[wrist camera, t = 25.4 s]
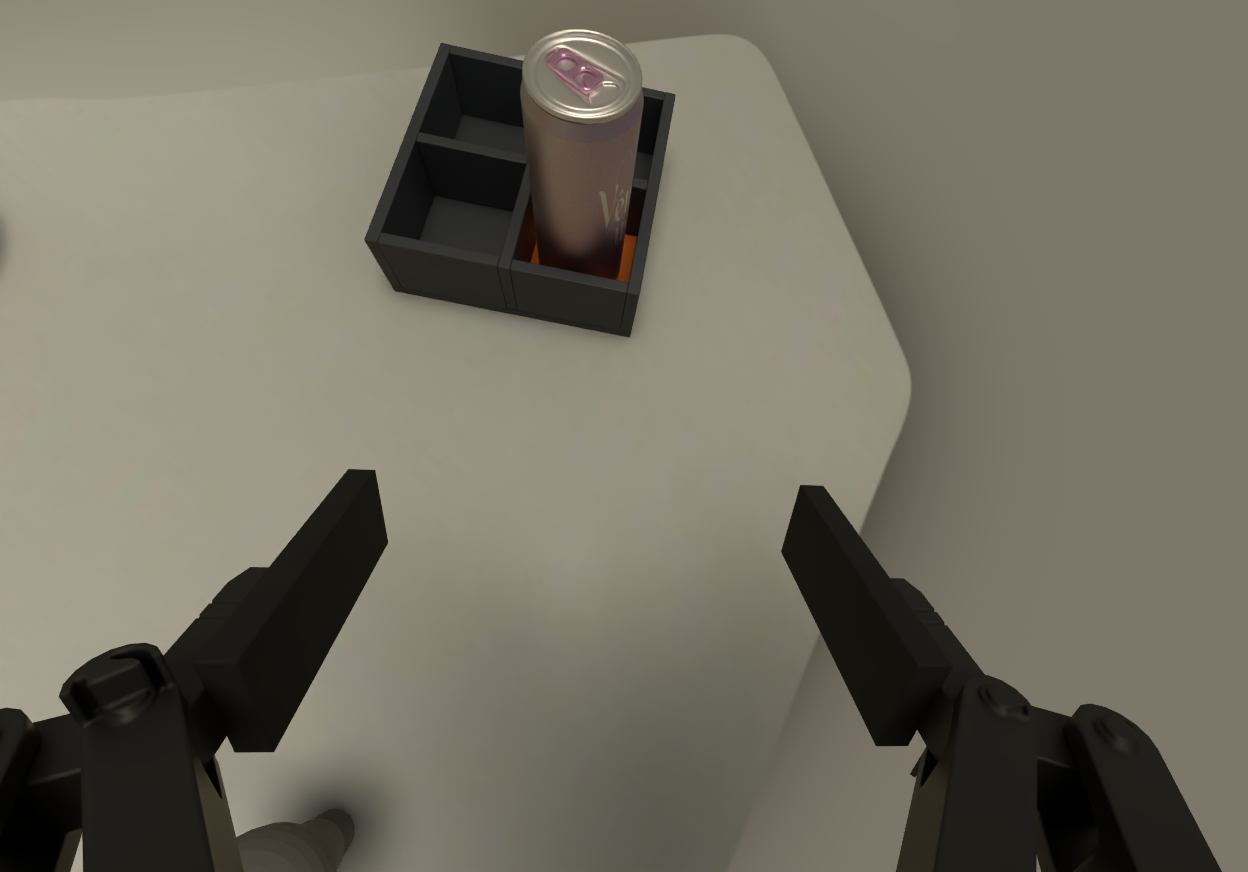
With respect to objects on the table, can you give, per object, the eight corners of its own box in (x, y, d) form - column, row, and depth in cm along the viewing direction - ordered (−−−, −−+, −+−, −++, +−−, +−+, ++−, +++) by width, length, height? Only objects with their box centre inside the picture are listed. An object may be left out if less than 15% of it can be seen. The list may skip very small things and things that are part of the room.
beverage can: (576, 220, 39) (577, 6, 25) (635, 267, 38) (672, 73, 24) (522, 269, 37) (489, 69, 23) (583, 318, 36) (589, 143, 22)
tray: (662, 156, 43) (675, 93, 37) (629, 337, 37) (639, 295, 32) (457, 112, 42) (440, 42, 36) (394, 290, 37) (363, 239, 31)
